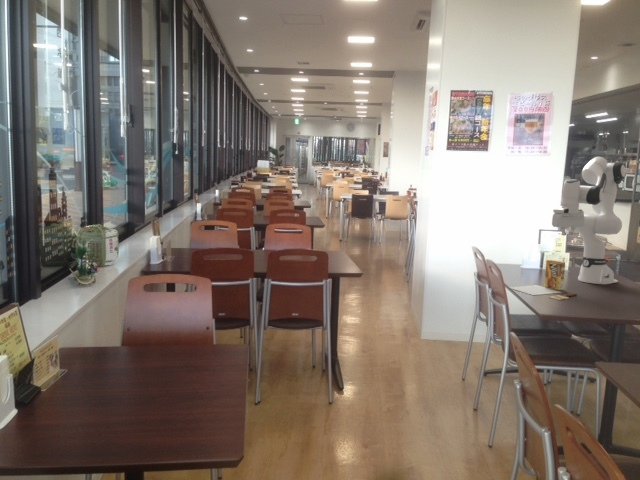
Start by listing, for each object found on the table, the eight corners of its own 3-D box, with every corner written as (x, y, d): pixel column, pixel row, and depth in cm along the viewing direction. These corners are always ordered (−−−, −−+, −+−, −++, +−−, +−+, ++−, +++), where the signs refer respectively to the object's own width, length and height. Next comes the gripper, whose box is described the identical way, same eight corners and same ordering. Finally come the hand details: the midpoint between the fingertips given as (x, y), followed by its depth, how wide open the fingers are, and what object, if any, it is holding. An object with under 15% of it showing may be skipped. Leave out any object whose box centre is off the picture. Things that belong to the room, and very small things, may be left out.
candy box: (563, 289, 316) (565, 261, 314) (559, 290, 313) (562, 262, 311) (547, 286, 322) (549, 259, 320) (543, 287, 320) (546, 260, 317)
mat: (536, 285, 325) (536, 285, 324) (562, 292, 308) (562, 292, 308) (508, 288, 316) (508, 287, 316) (533, 295, 300) (533, 294, 300)
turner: (570, 293, 306) (570, 291, 306) (580, 296, 301) (581, 293, 301) (548, 298, 296) (549, 295, 296) (559, 300, 291) (559, 297, 291)
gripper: (579, 208, 322) (576, 233, 324) (551, 209, 313) (548, 234, 315) (588, 209, 316) (586, 235, 318) (560, 210, 308) (558, 236, 309)
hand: (567, 235), depth 316 cm, fingers open, 4 cm apart
